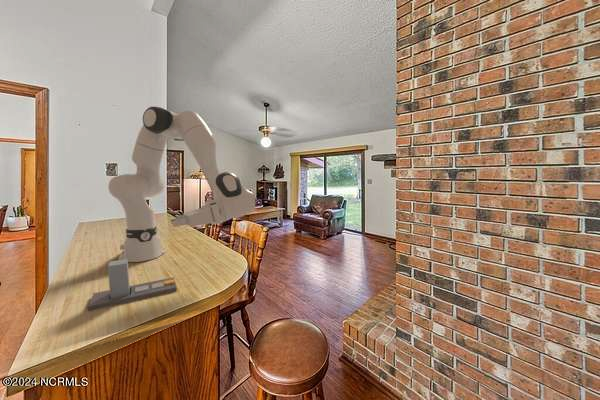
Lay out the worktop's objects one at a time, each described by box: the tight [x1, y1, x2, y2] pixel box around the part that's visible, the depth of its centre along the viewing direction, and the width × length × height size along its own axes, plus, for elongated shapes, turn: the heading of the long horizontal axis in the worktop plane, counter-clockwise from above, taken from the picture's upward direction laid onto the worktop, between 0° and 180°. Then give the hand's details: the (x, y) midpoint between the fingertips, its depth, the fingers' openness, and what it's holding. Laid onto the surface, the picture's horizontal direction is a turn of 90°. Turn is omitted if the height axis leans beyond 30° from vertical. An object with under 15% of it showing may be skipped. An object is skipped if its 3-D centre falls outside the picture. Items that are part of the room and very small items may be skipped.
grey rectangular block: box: [107, 259, 131, 299], centre depth 74 cm, size 4×4×11 cm
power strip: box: [87, 277, 178, 312], centre depth 77 cm, size 9×22×3 cm, turn 123°
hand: (171, 223), depth 81 cm, fingers open, 8 cm apart
